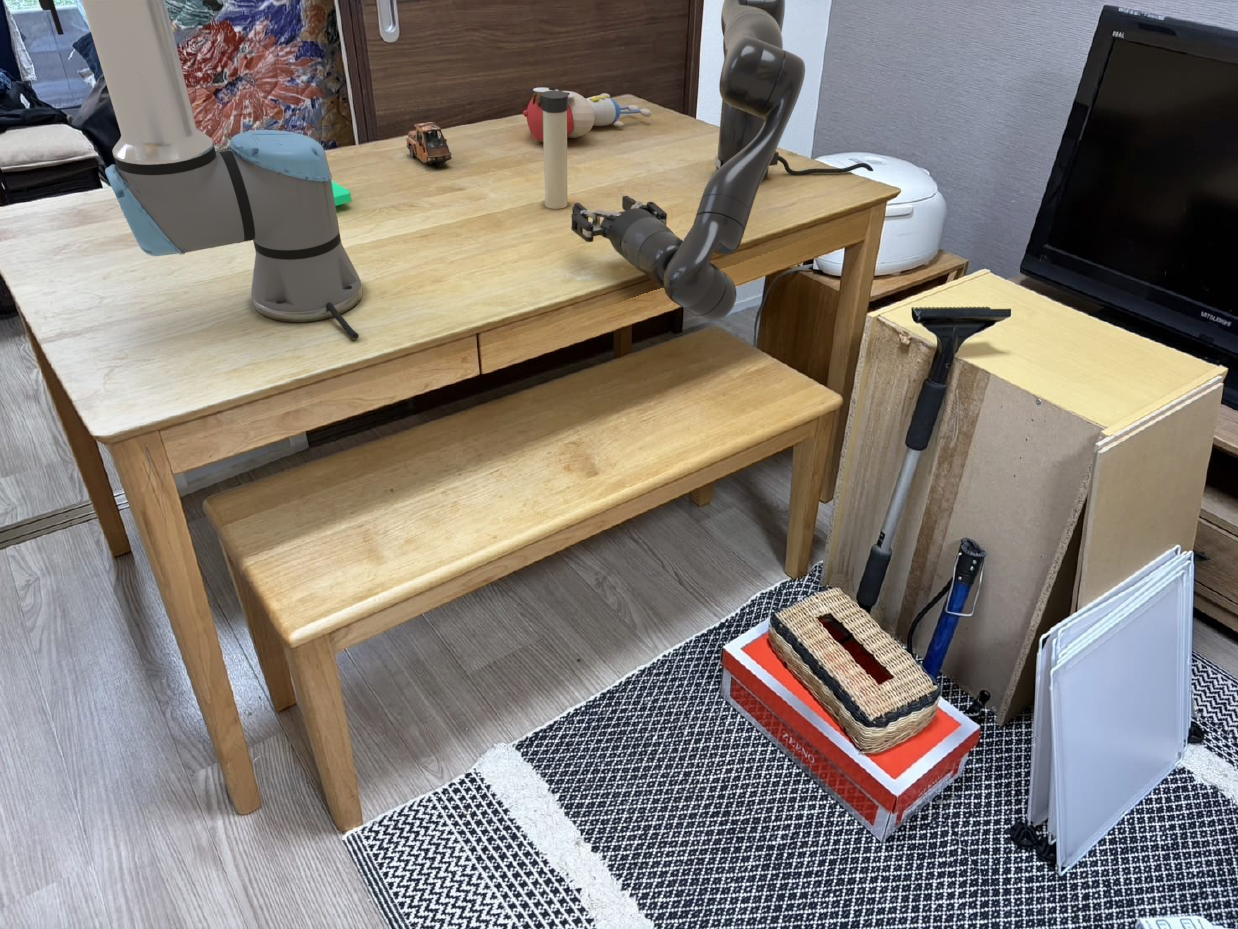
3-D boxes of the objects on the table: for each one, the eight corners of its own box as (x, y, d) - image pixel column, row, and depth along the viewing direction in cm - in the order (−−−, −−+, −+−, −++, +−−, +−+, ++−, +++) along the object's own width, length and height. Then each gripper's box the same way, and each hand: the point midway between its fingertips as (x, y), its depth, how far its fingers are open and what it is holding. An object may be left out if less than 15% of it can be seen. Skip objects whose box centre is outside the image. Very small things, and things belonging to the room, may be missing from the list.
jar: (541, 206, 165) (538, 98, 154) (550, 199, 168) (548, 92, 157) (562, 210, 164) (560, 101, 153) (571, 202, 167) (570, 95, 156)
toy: (670, 94, 197) (547, 94, 182) (666, 143, 201) (545, 148, 186) (623, 81, 210) (504, 81, 195) (620, 128, 215) (504, 131, 200)
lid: (536, 110, 155) (536, 96, 154) (547, 103, 159) (547, 89, 157) (561, 113, 154) (561, 99, 152) (572, 106, 157) (572, 92, 156)
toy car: (429, 148, 188) (425, 113, 184) (459, 164, 181) (457, 129, 177) (400, 154, 185) (396, 118, 181) (431, 171, 178) (427, 134, 173)
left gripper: (151, -134, 141) (187, 17, 154) (-38, -132, 131) (17, 30, 144) (159, -130, 136) (195, 26, 149) (-37, -127, 126) (20, 41, 138)
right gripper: (689, 211, 137) (640, 176, 149) (602, 225, 132) (558, 187, 144) (685, 258, 142) (638, 221, 153) (601, 273, 137) (559, 233, 148)
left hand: (108, 29), depth 146 cm, fingers open, 13 cm apart
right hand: (600, 205), depth 149 cm, fingers open, 8 cm apart
